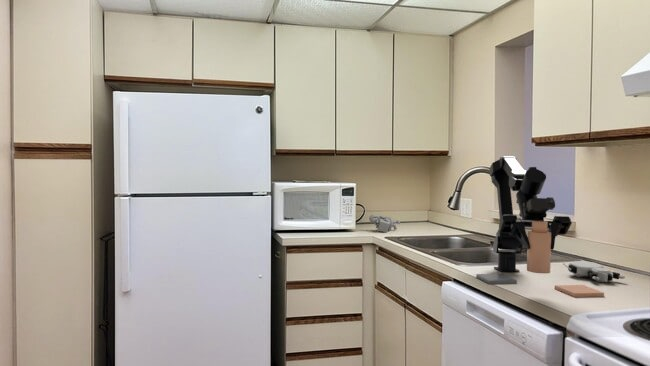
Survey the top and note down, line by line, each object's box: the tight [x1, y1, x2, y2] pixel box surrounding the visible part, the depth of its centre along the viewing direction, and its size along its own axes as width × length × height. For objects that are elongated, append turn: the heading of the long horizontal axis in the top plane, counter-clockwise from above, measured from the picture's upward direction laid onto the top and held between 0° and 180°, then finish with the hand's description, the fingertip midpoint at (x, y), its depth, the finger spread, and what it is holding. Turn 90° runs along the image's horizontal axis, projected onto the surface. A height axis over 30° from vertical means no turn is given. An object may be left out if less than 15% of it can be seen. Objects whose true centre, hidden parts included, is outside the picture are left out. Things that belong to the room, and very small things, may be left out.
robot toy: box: [562, 261, 626, 283], centre depth 152 cm, size 12×4×15 cm
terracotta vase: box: [526, 220, 552, 274], centre depth 130 cm, size 6×6×14 cm
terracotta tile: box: [554, 284, 605, 298], centre depth 134 cm, size 9×9×1 cm
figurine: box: [368, 214, 401, 234], centre depth 264 cm, size 11×13×18 cm
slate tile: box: [476, 273, 518, 285], centre depth 148 cm, size 9×9×1 cm
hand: (540, 248), depth 129 cm, fingers closed on terracotta vase, 6 cm apart
